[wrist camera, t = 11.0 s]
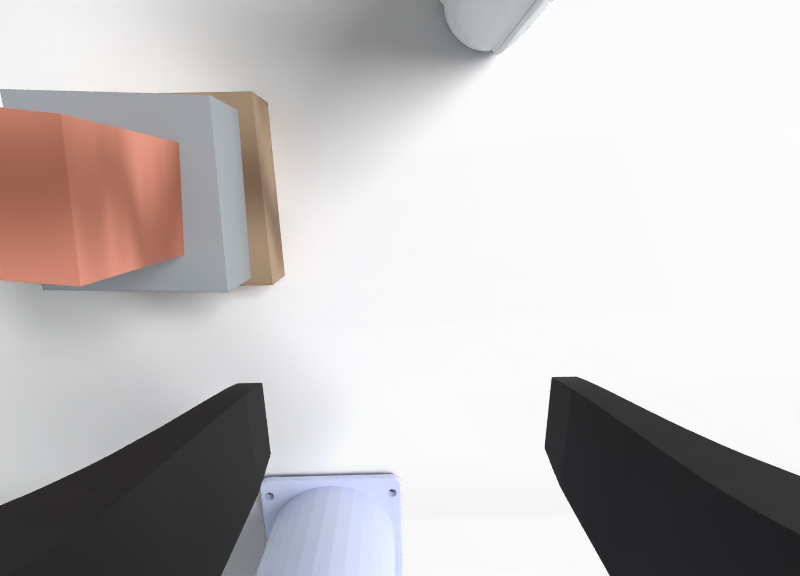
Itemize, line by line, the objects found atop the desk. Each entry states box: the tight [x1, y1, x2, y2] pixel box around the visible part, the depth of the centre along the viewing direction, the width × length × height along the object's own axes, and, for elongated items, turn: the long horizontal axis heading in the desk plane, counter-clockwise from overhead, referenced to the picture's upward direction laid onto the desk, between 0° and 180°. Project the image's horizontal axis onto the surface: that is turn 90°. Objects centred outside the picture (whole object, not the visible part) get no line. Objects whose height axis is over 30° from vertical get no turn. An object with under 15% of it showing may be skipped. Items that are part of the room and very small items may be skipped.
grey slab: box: [0, 89, 251, 292], centre depth 15 cm, size 7×7×2 cm
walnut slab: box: [158, 92, 285, 286], centre depth 17 cm, size 8×8×2 cm
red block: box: [0, 108, 184, 286], centre depth 11 cm, size 4×4×5 cm
